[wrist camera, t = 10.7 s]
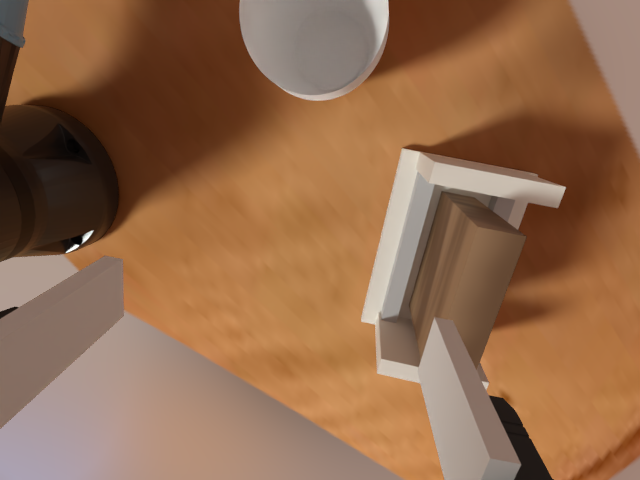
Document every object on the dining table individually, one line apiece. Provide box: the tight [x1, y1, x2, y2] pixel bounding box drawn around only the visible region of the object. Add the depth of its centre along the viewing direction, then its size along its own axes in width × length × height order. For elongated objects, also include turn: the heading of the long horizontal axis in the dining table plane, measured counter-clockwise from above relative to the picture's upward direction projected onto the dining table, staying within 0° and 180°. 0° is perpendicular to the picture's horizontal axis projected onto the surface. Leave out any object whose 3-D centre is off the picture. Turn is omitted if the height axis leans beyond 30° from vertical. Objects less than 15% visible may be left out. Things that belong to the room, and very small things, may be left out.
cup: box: [239, 0, 389, 101], centre depth 27 cm, size 9×9×12 cm
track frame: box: [361, 148, 566, 389], centre depth 33 cm, size 12×18×9 cm, turn 170°
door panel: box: [409, 191, 527, 370], centre depth 31 cm, size 3×12×12 cm, turn 170°
